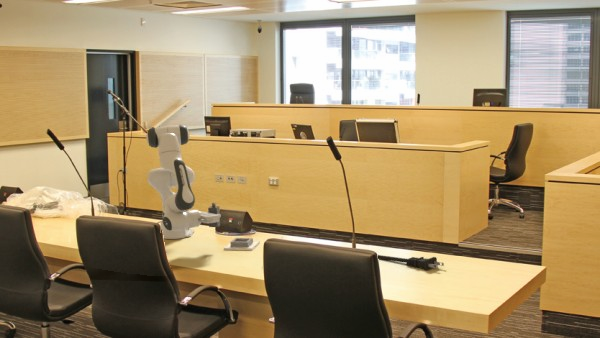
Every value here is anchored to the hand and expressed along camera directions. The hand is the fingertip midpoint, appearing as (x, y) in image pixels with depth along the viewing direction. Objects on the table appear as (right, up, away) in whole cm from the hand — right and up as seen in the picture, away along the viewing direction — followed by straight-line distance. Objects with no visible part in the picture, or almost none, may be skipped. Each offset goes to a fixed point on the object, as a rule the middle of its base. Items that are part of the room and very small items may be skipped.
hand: (215, 214), depth 379 cm
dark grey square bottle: (0, -6, 0) cm, 6 cm away
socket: (+13, -17, +4) cm, 22 cm away
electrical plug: (+91, -21, -37) cm, 100 cm away
